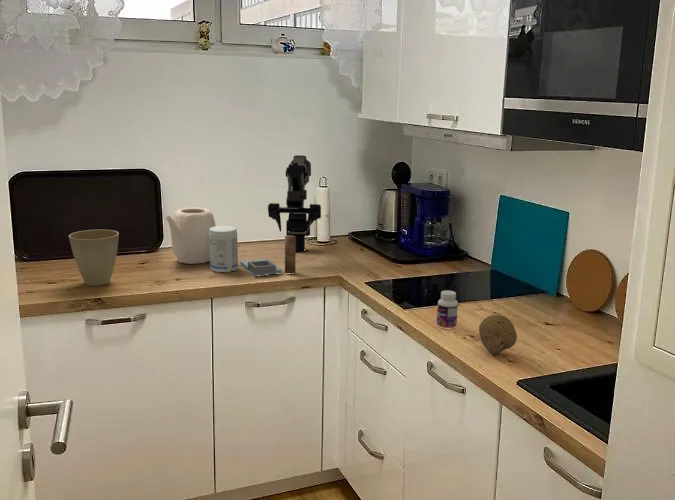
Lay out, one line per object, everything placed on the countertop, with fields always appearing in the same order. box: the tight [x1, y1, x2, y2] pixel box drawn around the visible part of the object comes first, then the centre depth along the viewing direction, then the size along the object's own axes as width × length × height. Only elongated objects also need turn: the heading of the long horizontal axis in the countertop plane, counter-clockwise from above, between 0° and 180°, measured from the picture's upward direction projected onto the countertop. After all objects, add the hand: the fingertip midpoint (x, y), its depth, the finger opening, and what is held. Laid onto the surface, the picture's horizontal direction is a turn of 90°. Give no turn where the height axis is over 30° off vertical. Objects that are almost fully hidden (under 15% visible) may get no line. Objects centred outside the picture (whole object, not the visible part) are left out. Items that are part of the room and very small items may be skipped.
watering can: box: [165, 207, 217, 265], centre depth 244 cm, size 16×27×19 cm, turn 154°
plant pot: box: [68, 229, 120, 287], centre depth 216 cm, size 15×15×16 cm
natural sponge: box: [478, 314, 518, 355], centre depth 167 cm, size 9×9×10 cm
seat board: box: [239, 258, 283, 277], centre depth 237 cm, size 17×10×4 cm, turn 24°
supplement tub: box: [209, 225, 239, 273], centre depth 235 cm, size 10×10×15 cm
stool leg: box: [284, 234, 297, 274], centre depth 233 cm, size 4×4×13 cm
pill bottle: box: [436, 290, 459, 329], centre depth 185 cm, size 5×5×10 cm
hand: (293, 231), depth 239 cm, fingers open, 9 cm apart
